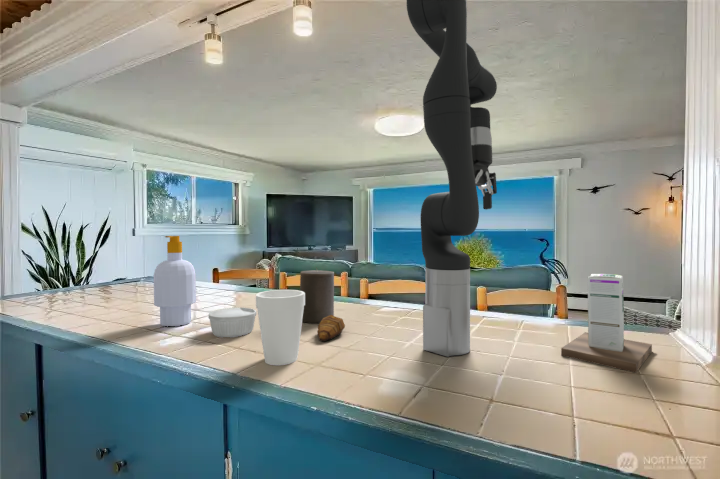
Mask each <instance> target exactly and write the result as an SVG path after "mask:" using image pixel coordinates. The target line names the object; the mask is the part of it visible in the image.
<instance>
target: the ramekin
mask: <svg viewBox="0 0 720 479" xmlns="http://www.w3.org/2000/svg"><path fill="white" fill-rule="evenodd" d="M207 316H208V317H207V318H208V319H209V322H210V329H211V332H212V334H213V335H214V336H215V337H218V338H223V337H230V338H237V337H238V336H239V337H243V336H246V335H249V334H251V333H252V332H253V330H254V327H255V322H256V321H255V320H256V316H257V310H256V309H254V308H250V307H228V308H227V307H226V308H221V309H215V310H213V311H210V312H209V313H208V315H207ZM248 333H249V334H248ZM242 335H243V336H242ZM239 337H238V338H239Z"/></svg>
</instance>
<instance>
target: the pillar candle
mask: <svg viewBox="0 0 720 479" xmlns="http://www.w3.org/2000/svg"><path fill="white" fill-rule="evenodd" d="M315 269H316V270H314V269H313V270H312V269H311V270H301V271H300V276H299V277H300V278H299V281H300V283H299V286H300V287H299V291H303V292H304V293H305V305H304V310H303V318H302V323H307V324H311V325H312V324H320V322H321V320H322V319H323V318H325V317H327V316H330V315H333V316H335V311H334V310H335V271H330V270H319V269H318V268H317V266H316V267H315Z"/></svg>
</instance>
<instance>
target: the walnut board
mask: <svg viewBox="0 0 720 479" xmlns="http://www.w3.org/2000/svg"><path fill="white" fill-rule="evenodd" d="M560 349H561V350H560V352H561V353H560V355H561V357H566V358H567V357H568V358H570V359H574V360H579V361H583V362H588V363H593V364H597V365H601V366H606V367H610V368H615V369H618V370H619V369H620V370H623V371H628V372H632V373H636V374H637V372H638V371H639V369H640V368H641V367H642V365H643V364H644V363H645V361H646V360H647V359H648V358H649V356H650V354H652V351H653V344H652V343H646V342H642V341H637V340H631V339H625V338H624V347H623V351H622V352H619V351H611V350H605V349H599V348H594V347H590V346H589V345H588V332H585V331H584V332H583V333H582V334H580V335H579V336H577V337H576V338H574V339H573V340H571V341H570V342H568V343H566V344H565V345H564V346H562V347H561V348H560Z"/></svg>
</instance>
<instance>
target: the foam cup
mask: <svg viewBox="0 0 720 479" xmlns="http://www.w3.org/2000/svg"><path fill="white" fill-rule="evenodd" d="M304 305H305V293H304V292H303V291H300V289H299V290H298V289H272V290H265V291H260V292H257V293H255V308H256V309H257V310H256V311H257V315H258V324H259V330H260V335H261V336H260V337H261V338H260V339H261V346H262V350H263V357H264V363H265V364H267V365H271V366H284V365H285V366H286V365H289V364H292V363H295V362H296V361H297V360H298V356H299V351H300V342H301V336H302V335H301V334H302V327H303V326H302V325H303V322H302V318H303V310H304Z"/></svg>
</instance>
